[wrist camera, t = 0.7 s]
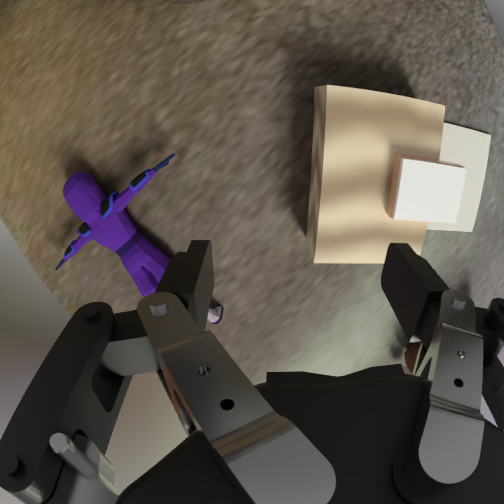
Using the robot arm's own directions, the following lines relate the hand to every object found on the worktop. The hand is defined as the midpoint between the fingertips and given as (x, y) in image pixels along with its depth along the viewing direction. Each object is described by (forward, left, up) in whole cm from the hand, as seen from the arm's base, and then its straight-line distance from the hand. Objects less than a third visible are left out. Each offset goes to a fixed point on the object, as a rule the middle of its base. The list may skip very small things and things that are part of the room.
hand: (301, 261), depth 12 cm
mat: (+2, +27, -28) cm, 39 cm away
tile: (+2, +17, -21) cm, 27 cm away
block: (+2, +12, -28) cm, 30 cm away
